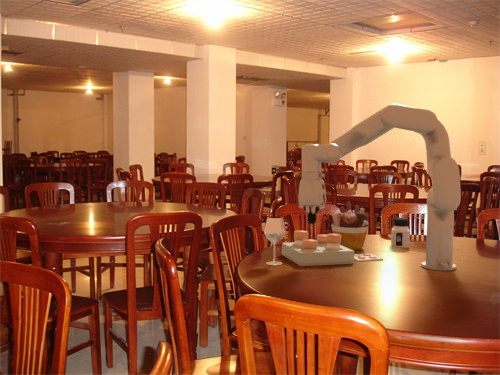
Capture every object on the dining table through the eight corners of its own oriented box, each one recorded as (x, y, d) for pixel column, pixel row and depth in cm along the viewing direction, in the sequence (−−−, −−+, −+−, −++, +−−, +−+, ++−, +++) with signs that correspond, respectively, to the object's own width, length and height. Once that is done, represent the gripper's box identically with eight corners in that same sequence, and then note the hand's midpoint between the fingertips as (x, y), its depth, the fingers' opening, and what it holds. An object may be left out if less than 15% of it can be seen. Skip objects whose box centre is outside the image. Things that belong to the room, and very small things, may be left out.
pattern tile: (383, 260, 220) (383, 258, 220) (358, 261, 217) (358, 259, 217) (370, 254, 231) (370, 252, 231) (346, 255, 228) (346, 253, 228)
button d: (309, 249, 222) (310, 232, 221) (296, 250, 220) (296, 232, 220) (304, 247, 227) (305, 230, 227) (291, 247, 226) (292, 230, 225)
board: (353, 263, 213) (354, 250, 213) (300, 266, 207) (300, 253, 207) (330, 252, 234) (331, 241, 234) (281, 254, 228) (282, 242, 228)
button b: (332, 253, 225) (332, 236, 224) (319, 253, 223) (320, 236, 223) (326, 250, 230) (327, 234, 230) (314, 251, 229) (314, 234, 228)
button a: (342, 253, 215) (343, 235, 214) (329, 253, 214) (330, 236, 213) (336, 250, 220) (337, 233, 220) (324, 251, 219) (324, 233, 218)
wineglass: (259, 264, 209) (260, 217, 208) (269, 260, 216) (270, 215, 215) (279, 267, 205) (280, 219, 204) (288, 263, 212) (289, 216, 211)
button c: (319, 259, 212) (319, 241, 212) (305, 259, 211) (305, 241, 210) (313, 256, 218) (314, 239, 217) (300, 257, 216) (300, 239, 216)
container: (409, 248, 248) (410, 219, 247) (391, 247, 249) (392, 218, 248) (408, 245, 255) (409, 217, 254) (391, 244, 257) (392, 216, 256)
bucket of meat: (369, 252, 235) (371, 206, 233) (330, 251, 237) (332, 205, 235) (365, 244, 255) (367, 201, 253) (330, 243, 257) (331, 200, 255)
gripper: (333, 176, 212) (333, 223, 213) (298, 175, 219) (298, 221, 220) (326, 177, 205) (326, 225, 206) (289, 176, 212) (290, 223, 214)
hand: (312, 223), depth 213 cm, fingers closed
